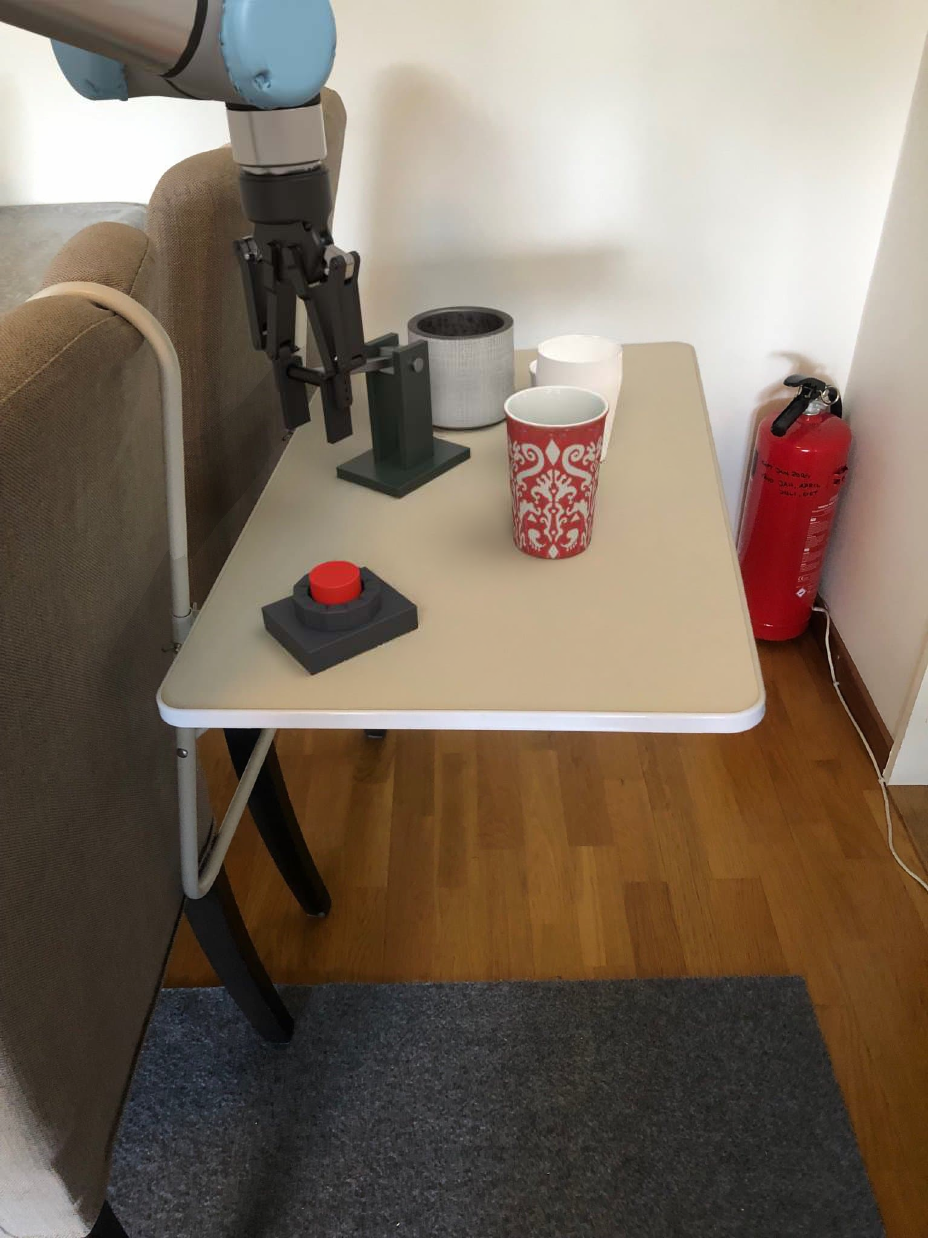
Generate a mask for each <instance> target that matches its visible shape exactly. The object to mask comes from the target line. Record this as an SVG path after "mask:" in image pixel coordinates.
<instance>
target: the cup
mask: <svg viewBox="0 0 928 1238" xmlns="http://www.w3.org/2000/svg"><path fill="white" fill-rule="evenodd" d="M536 352H537V353H536V354H537V355H536V360H537V366H536V386H537V387H541V386H573V387H579V388H584V389H588V390H591V391H594V392H596V393H598V394H600V395H602V396H603V397H604V398H605V399H606V400H607V401H608V403H609V407H610V408H609V412H608V414H607V416H606V420H605V428H604V436H603V445H602V453H601V459H600V463H601V462H603V461H604V460H605V459H606V458H607V457H606V456H607V452H608V447H609V444H610V438H611V434H612V430H613V429H612V428H613V424H614V419H615V415H616V410H617V404H618V401H619V396H620V390H621V386H622V381H623V346H622V345H621V344H620V343H619V342H618V341H616V340H613V339H611V338H607V337H604V336H600V335H599V336H598V335H591V334H589V335H588V334H570V335H567V334H566V335H560V336H556V337H552V338H548V339H547V340H544V341H542V342H541V343H540V344H538V346H537V351H536Z"/></svg>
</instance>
